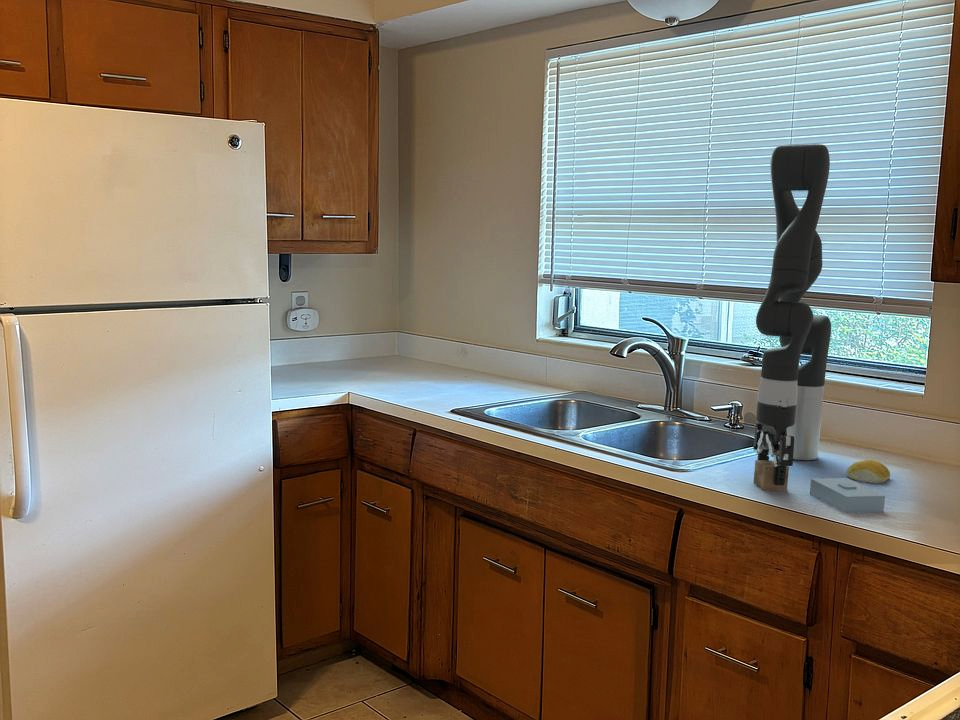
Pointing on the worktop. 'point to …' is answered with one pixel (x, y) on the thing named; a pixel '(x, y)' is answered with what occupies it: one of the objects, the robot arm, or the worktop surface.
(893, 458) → the worktop surface
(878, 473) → the bread roll
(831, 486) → the butter dish
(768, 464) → the walnut cube
